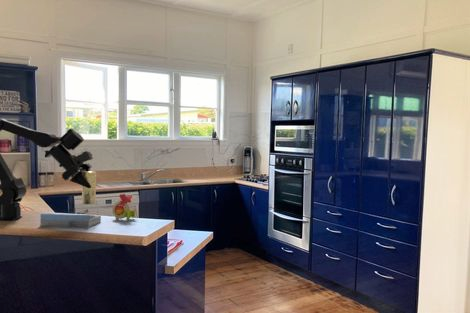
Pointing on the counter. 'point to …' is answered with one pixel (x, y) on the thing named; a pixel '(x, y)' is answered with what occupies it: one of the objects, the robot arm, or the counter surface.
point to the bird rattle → (120, 209)
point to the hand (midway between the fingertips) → (92, 186)
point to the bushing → (89, 193)
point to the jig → (69, 220)
